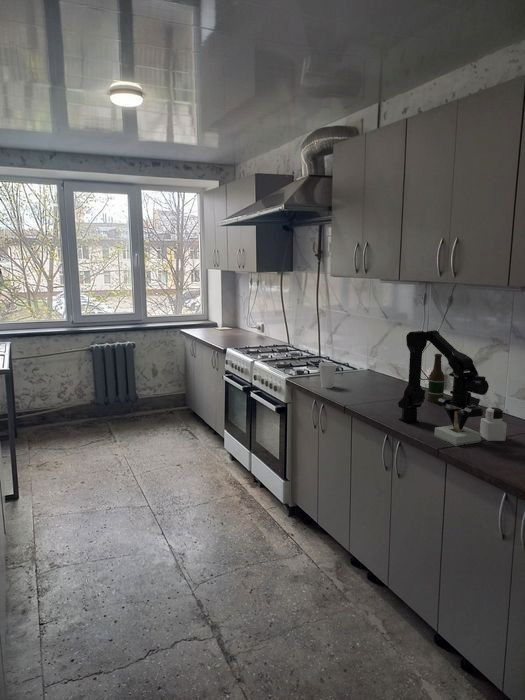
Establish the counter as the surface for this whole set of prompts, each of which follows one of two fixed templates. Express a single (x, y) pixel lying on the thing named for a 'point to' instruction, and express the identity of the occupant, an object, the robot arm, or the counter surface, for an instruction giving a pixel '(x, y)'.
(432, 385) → the beer bottle
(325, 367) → the foam cup
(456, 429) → the dowel
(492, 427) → the medicine bottle
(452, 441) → the bore block
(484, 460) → the counter surface
